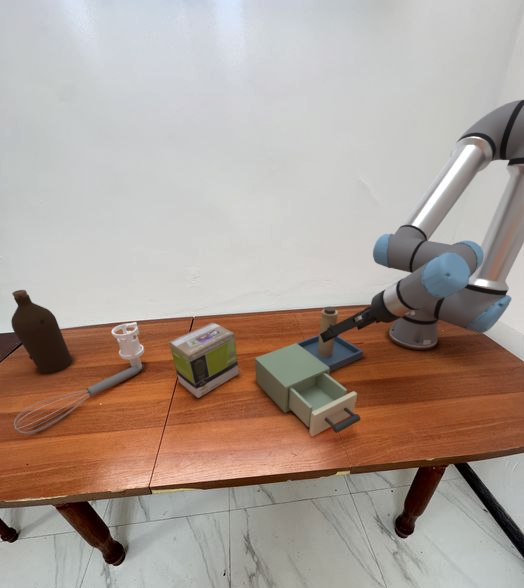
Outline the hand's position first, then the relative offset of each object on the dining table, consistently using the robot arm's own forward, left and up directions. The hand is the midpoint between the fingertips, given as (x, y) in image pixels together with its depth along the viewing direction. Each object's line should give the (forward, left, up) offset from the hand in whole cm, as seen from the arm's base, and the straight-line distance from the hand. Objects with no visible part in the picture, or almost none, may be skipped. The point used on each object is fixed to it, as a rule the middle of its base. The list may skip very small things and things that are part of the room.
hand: (340, 331), depth 87 cm
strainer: (+54, -32, -11) cm, 64 cm away
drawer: (+19, +15, -10) cm, 26 cm away
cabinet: (+19, +2, -11) cm, 22 cm away
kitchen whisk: (+68, -24, -11) cm, 73 cm away
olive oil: (+76, -48, -11) cm, 91 cm away
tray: (0, -5, -11) cm, 12 cm away
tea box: (+37, -14, -11) cm, 41 cm away
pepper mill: (0, -5, -10) cm, 12 cm away
